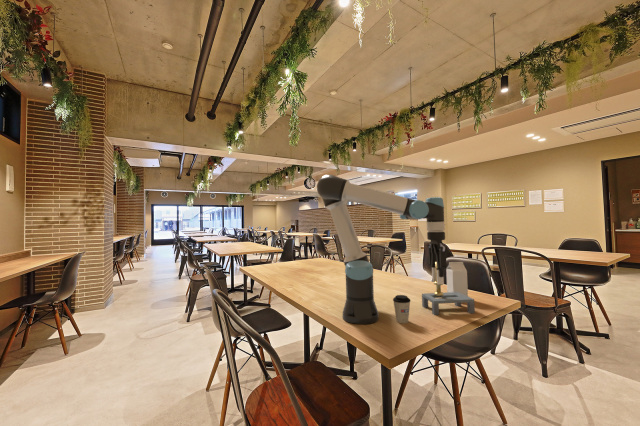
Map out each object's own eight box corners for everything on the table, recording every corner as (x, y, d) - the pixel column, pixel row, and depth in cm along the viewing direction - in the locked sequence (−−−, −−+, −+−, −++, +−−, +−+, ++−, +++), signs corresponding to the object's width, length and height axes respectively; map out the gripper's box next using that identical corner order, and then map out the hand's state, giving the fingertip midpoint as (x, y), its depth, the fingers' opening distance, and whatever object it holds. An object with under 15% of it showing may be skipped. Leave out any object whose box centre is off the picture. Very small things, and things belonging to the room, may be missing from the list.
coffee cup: (390, 319, 112) (389, 295, 113) (403, 317, 115) (402, 293, 115) (401, 325, 106) (400, 299, 106) (415, 322, 109) (414, 297, 109)
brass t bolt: (436, 296, 121) (435, 262, 121) (432, 294, 125) (431, 261, 125) (445, 296, 121) (443, 262, 122) (440, 293, 125) (439, 261, 125)
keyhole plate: (434, 315, 116) (434, 301, 117) (422, 306, 128) (421, 293, 129) (474, 313, 118) (474, 299, 118) (458, 304, 129) (458, 292, 130)
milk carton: (468, 301, 134) (466, 263, 135) (453, 301, 134) (452, 263, 135) (461, 297, 141) (459, 260, 142) (447, 297, 141) (445, 261, 142)
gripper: (454, 231, 116) (456, 286, 115) (434, 230, 132) (437, 278, 132) (436, 232, 115) (439, 287, 114) (419, 230, 132) (422, 279, 131)
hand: (438, 282), depth 123 cm, fingers closed on brass t bolt, 4 cm apart
